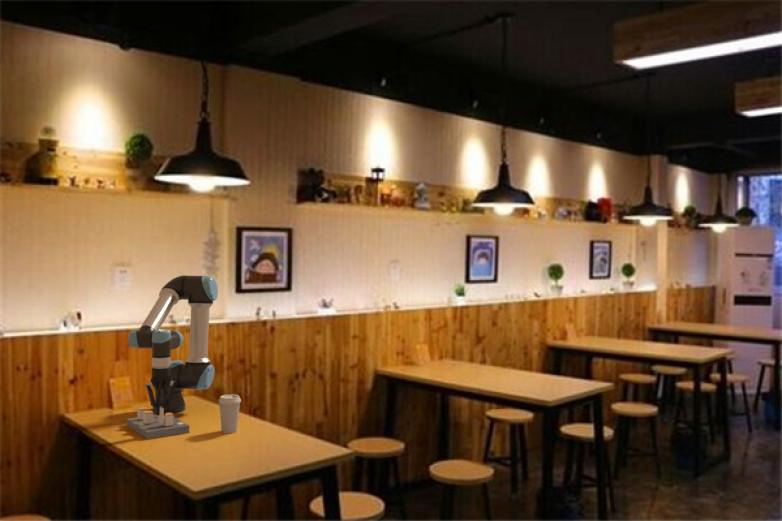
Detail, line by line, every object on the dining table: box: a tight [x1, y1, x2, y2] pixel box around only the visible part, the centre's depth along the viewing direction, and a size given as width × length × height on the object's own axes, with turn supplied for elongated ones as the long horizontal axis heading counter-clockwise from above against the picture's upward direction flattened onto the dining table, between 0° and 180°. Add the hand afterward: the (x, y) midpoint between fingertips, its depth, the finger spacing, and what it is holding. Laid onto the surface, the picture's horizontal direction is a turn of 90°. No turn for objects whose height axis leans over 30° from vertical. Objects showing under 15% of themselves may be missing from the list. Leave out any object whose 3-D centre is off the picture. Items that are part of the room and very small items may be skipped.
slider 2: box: [163, 413, 174, 426], centre depth 292 cm, size 3×4×5 cm
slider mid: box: [143, 409, 155, 424], centre depth 294 cm, size 3×4×5 cm
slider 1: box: [136, 406, 148, 420], centre depth 301 cm, size 3×4×5 cm
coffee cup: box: [217, 393, 242, 434], centre depth 296 cm, size 10×10×15 cm
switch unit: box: [126, 414, 190, 440], centre depth 297 cm, size 18×26×3 cm
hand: (160, 422), depth 290 cm, fingers closed
